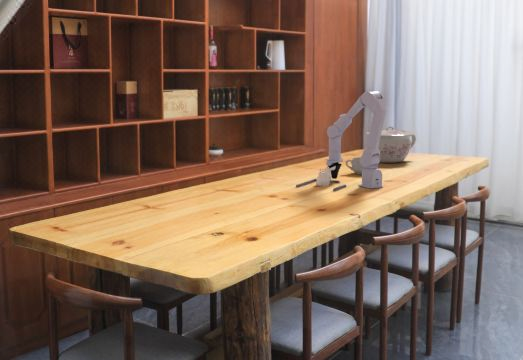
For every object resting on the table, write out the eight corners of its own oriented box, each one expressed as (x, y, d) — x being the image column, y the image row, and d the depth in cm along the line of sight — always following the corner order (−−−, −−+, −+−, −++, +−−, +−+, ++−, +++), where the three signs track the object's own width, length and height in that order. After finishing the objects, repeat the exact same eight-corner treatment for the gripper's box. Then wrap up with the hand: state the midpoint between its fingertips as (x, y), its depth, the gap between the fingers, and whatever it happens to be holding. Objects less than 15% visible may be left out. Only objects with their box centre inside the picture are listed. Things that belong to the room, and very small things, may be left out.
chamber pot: (362, 163, 378) (362, 127, 374) (368, 157, 404) (369, 123, 400) (411, 165, 370) (413, 129, 366) (415, 159, 396) (416, 124, 392)
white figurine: (328, 182, 320) (328, 162, 318) (340, 184, 314) (340, 164, 313) (312, 186, 311) (312, 165, 310) (324, 188, 306) (324, 167, 304)
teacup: (371, 172, 349) (371, 157, 348) (372, 175, 339) (373, 160, 337) (345, 171, 351) (345, 157, 349) (345, 175, 340) (345, 159, 339)
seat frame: (353, 184, 314) (353, 182, 314) (335, 191, 297) (335, 189, 297) (315, 180, 325) (315, 178, 325) (295, 187, 307) (295, 185, 307)
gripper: (333, 148, 325) (333, 175, 327) (320, 151, 313) (320, 179, 315) (346, 149, 321) (346, 176, 324) (334, 152, 309) (333, 181, 312)
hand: (334, 178), depth 319 cm, fingers closed
